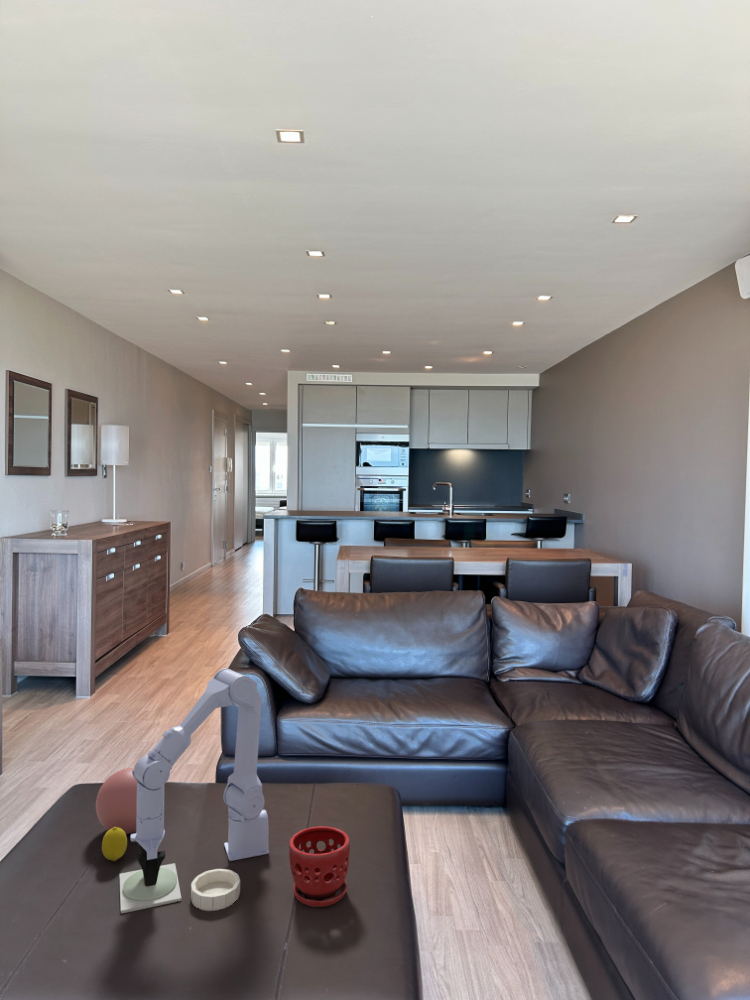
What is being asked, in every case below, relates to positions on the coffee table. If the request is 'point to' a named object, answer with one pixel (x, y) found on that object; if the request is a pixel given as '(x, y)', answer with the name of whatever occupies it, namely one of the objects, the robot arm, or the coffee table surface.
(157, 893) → the lid
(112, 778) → the balloon
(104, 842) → the lemon
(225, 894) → the dish
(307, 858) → the plant pot
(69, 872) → the coffee table surface
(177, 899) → the mat
